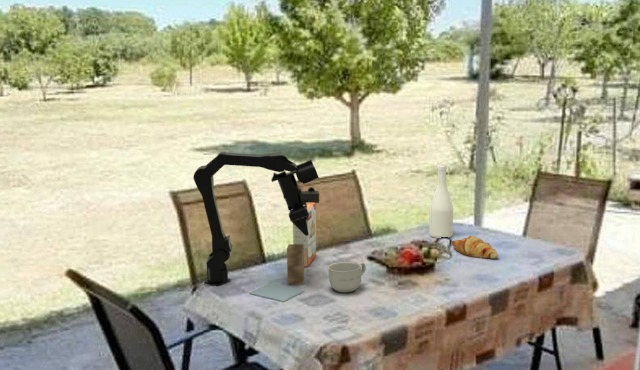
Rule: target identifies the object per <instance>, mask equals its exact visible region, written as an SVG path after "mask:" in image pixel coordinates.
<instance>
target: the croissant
mask: <svg viewBox="0 0 640 370" xmlns="http://www.w3.org/2000/svg"><path fill="white" fill-rule="evenodd" d="M451 246H452V247H454V249H455V250H456V251H457V252H458V253H460V254H462V255H464V256H469V257H473V258H474V257H475V258H481V259H483V258H484V259H487V258H488V259H492V260H493V259H496V258H498V257H499V254H498V252H497V250H496V249H495V248H493V247H492V245H490V243H488V242H485V241H483V240H482V239H481V238H479V237H477V236H474V235H470V236H468V237H463V238H462V239H456V240H452V241H451Z"/></svg>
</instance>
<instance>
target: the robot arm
mask: <svg viewBox="0 0 640 370" xmlns="http://www.w3.org/2000/svg"><path fill="white" fill-rule="evenodd" d="M224 166H236V167H237V166H238V167H254V168H255V167H256V168H263V169H266V170H269V171H271V172H273V171H274V172H273V175H272V177H271V182H272V183H273V182H276V181H277V182H278V185H279V187H280V190H281V192H282V197H283V199H284V201H285V203H286V206H287V210H288V217H289V221H290V222H291V223H292V225H293V224H294V225H295V226H296V227H297V228H298V229H299V230H300V231H301V232H302V233H303V234H304V235H305V236H307V235H309V233H308V228H307V222H306V220H307V218H308V217H309V213H308V210H307V203H316V204H319V203H320V192H319V191H318V190H316V189H315V188H314V187H313V186H312V187H311V186H309V187H308V189H307V190H304V191H303V190H302V189H301V188H300V187H299V184H298V183H301V184H303V185H305V184H307V183H310V182H312V181H313V182H314V181H316V180H318V179H319V178H320V177H319V175H318V172H317V170H316V167H315V166H314V163H313V161H312V159H308V160H306V161H303V162H302V163H299V164H296V163H295V162H293V161H292V160H290V159H289V158H288V156H287V154H285V153H284V152H281V151H278V152H269V153H265V154H253V153H238V152H236V153H235V152H226V151H220V152H219V153H218V154H217V155H216V156H215V157H214V158H213V159H212V160H211V161H209V162H208V163H207V164H205V165H200V166H199V167H198V168H196V170H195V172H194V173H193V181H194V184H195V187H196V188H197V190H198V192H199V193H200V195H201V197H202V198H201V199H202V201H203V206H204V209H205V213H206V217H207V222H208V226H209V229H210V233H211V234H210V235H211V253H209V255H208V257H207V259H206V263H205V265H206V273H207V274H206V276H207V277H206V278H207V280H204V281H203V282H204V283H205V284H208V285H212V286H216V287H219V286H222V285H224V284H226V283H228V282H231V278H229V276H228V275H229V272H228V270H229V269H228V265H227V264H226V262H227V261H228V260H229V259H230V256H231V252H232V251H233V244H232V242H231V235H230V234H229V235H226V233H225V232H224V229H223V225H222V224H223V223H222V221H221V218H220V217H221V216H220V213H219V207H218V204H217V201H216V200H217V199H216V196H215V191H214V189H215V187H214V186H215V183H214V175H216V174H217V172H219V171H220V170H221V169H222V167H224ZM295 175H296V177H295ZM296 178H297V179H296ZM303 205H304V206H303Z"/></svg>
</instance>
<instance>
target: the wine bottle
mask: <svg viewBox="0 0 640 370" xmlns="http://www.w3.org/2000/svg"><path fill="white" fill-rule="evenodd" d="M453 224H454V206H453V203H452V200H451V197H450V193H449V191H448V187H447V164H446V163H439V164H437V184H436V188H435V191H434V193H433V196H432V199H431V201H430V205H429V225H428V228H429V230H428V232H429V236H430V237H432V238H436V239H442V238H441V237H448V238H451V237H452V236H453V233H454V232H453V229H454V225H453ZM448 238H447V239H448Z"/></svg>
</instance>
